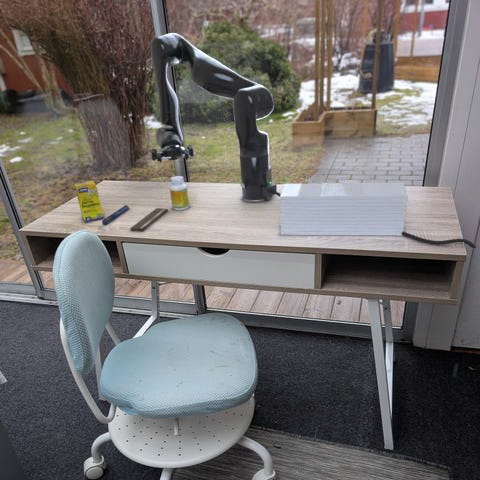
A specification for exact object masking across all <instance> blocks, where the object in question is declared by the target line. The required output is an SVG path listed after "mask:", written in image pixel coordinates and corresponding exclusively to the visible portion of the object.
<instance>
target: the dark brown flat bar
mask: <svg viewBox="0 0 480 480" xmlns="http://www.w3.org/2000/svg"><path fill="white" fill-rule="evenodd" d="M168 212H169V209H168V208H165V207H164V208H163V207H162V208H160V207H156V208H155V209H154V210H152V211H151V212H150V213H148V214H147V215H146V216H145V217H143V218H142V219H140V220H139V221H137V222H136V223H134V224H133V225H132V226H131V227H130V231H131V232H142V233H143V232H145V230H146V229H148V228H149V227H150V226H151V225H153V224H154V223H156V221H158V220H159V219H160V218H162V217H163V216H164V215H165V214H166V213H168Z"/></svg>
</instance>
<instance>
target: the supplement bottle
mask: <svg viewBox="0 0 480 480" xmlns="http://www.w3.org/2000/svg"><path fill="white" fill-rule="evenodd" d="M170 183H171V184H170V185H169V193H170V200H171V206H172V209H173V210H175V211H183V210H187V209H188V208H190V202H189V200H190V199H189V192H188V186H187V184H186V183H185V182H184V176H183V175H182V176H181V175H175V176H171V177H170Z"/></svg>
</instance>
